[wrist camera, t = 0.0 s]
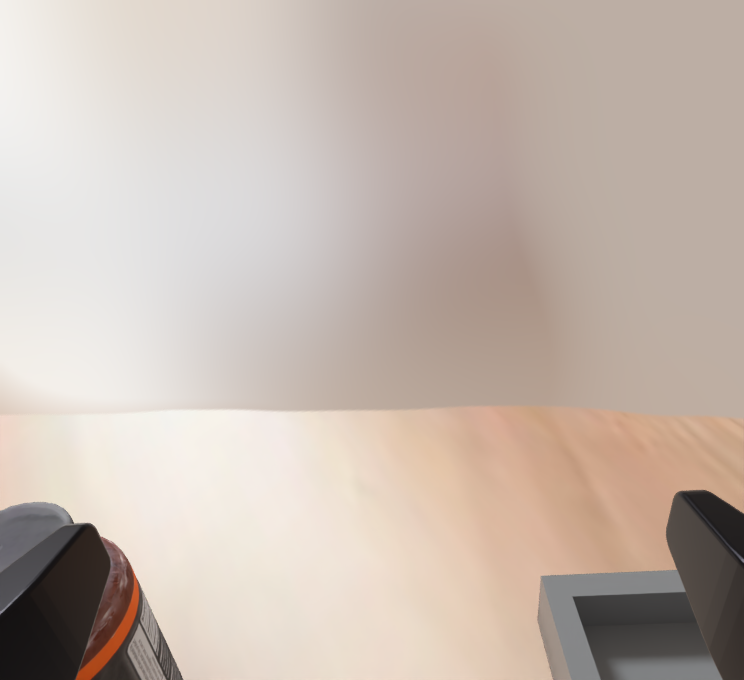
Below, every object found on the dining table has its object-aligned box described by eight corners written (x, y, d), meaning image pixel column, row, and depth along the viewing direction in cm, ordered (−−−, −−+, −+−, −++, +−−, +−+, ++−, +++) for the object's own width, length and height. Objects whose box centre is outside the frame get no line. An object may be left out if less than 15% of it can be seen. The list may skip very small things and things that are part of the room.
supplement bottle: (22, 880, 18) (-180, 692, 12) (46, 705, 23) (-90, 516, 17) (203, 789, 19) (95, 588, 14) (189, 645, 24) (105, 456, 19)
